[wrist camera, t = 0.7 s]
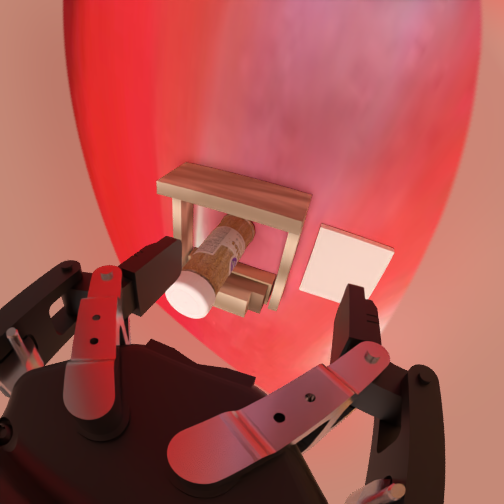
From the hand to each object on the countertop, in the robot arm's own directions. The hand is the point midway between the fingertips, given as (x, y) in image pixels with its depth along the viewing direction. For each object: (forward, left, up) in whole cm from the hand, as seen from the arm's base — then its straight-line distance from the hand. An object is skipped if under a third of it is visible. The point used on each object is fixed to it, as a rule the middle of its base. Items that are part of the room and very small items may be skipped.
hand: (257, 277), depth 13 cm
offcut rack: (+12, -7, -18) cm, 23 cm away
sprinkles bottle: (+11, -7, -18) cm, 22 cm away
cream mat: (+12, +7, -18) cm, 23 cm away
